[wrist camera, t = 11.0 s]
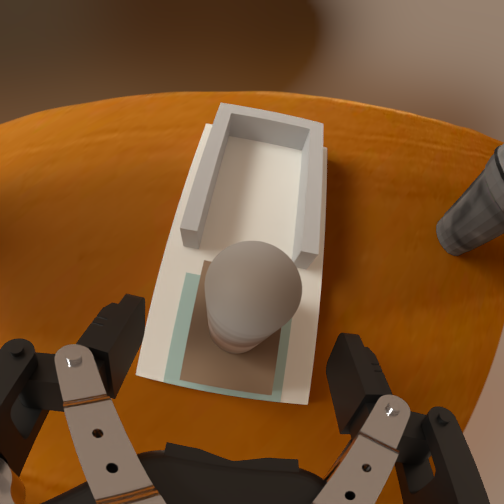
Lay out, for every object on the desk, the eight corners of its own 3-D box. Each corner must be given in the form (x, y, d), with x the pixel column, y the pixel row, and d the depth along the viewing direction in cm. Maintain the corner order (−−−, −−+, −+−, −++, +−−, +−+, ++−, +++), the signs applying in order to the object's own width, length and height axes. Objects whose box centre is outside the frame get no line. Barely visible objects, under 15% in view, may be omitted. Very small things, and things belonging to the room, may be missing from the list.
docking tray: (206, 134, 29) (206, 100, 25) (322, 157, 30) (336, 127, 26) (140, 375, 20) (123, 374, 16) (301, 403, 21) (321, 408, 17)
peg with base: (205, 280, 22) (199, 178, 11) (275, 293, 22) (336, 205, 11) (186, 379, 19) (148, 382, 8) (260, 391, 19) (319, 409, 8)
